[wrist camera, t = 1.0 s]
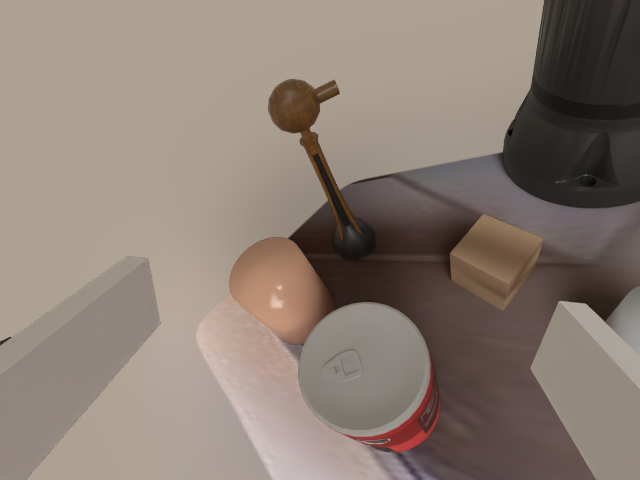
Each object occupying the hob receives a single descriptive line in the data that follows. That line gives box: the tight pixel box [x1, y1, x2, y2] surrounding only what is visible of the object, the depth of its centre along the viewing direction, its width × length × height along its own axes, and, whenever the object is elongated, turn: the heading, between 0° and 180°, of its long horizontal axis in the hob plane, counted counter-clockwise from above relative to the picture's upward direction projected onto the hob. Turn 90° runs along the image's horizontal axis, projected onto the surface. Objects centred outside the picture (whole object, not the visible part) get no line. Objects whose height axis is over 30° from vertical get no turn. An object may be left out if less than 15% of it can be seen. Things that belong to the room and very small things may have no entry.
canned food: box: [298, 302, 440, 452], centre depth 24 cm, size 8×8×11 cm
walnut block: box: [450, 214, 544, 311], centre depth 29 cm, size 5×5×5 cm
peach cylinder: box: [229, 237, 335, 345], centre depth 32 cm, size 7×7×9 cm
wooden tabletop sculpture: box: [268, 79, 375, 260], centre depth 31 cm, size 6×5×20 cm
